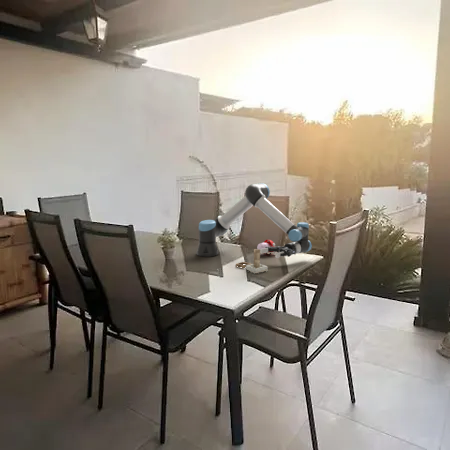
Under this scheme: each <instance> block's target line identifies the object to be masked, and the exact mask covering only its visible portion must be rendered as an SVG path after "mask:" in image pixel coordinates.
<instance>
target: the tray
mask: <svg viewBox="0 0 450 450" xmlns="http://www.w3.org/2000/svg"><path fill="white" fill-rule="evenodd" d="M268 268H269V267H268V266H267V265H265V264H261V263H260V267H259V268H254V263H251V265H247V266H246V269H247V270H251V271H254V272H258V271H261V270H265V269H267V270H268ZM246 269H245V270H246Z"/></svg>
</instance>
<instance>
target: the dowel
mask: <svg viewBox="0 0 450 450" xmlns="http://www.w3.org/2000/svg"><path fill="white" fill-rule="evenodd" d="M253 264H254V268H259V267H260V264H261V254H260V249H257V248H254V249H253Z"/></svg>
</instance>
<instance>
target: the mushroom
mask: <svg viewBox="0 0 450 450" xmlns="http://www.w3.org/2000/svg"><path fill="white" fill-rule="evenodd" d="M275 246H276V244H275V242H274V241H273V240H271V239H264V242H260V243H258V244H257V247H256V249H264V248H265V247H275Z"/></svg>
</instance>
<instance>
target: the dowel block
mask: <svg viewBox="0 0 450 450" xmlns="http://www.w3.org/2000/svg"><path fill="white" fill-rule="evenodd" d="M243 264H246V265H243ZM251 264H252V263H251V262H246V261H243V262H242V261H241V262H236V263H235V267H236V266H238V267H242V268H245V267H246V266H247V265H251ZM238 267H237V268H238ZM242 268H241V269H242Z"/></svg>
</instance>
